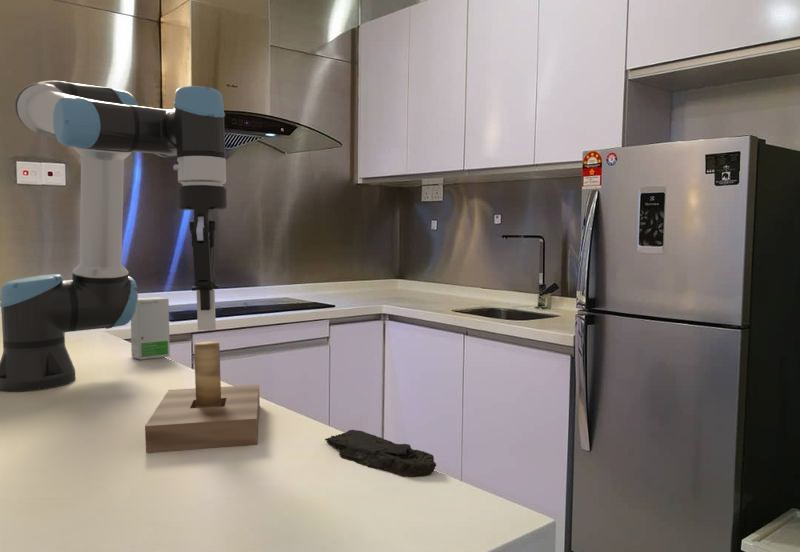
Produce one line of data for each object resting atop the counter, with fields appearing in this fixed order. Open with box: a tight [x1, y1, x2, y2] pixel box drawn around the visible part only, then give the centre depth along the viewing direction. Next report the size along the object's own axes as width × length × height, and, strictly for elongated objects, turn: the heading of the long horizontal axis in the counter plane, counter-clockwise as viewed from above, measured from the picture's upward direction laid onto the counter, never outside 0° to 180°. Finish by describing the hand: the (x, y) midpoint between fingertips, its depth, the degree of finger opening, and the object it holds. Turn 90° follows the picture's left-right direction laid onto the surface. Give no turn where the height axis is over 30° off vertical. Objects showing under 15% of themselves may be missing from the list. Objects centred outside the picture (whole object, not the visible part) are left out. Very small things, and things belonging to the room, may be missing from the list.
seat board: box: [144, 384, 261, 454], centre depth 105 cm, size 22×16×4 cm
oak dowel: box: [193, 341, 222, 408], centre depth 104 cm, size 4×4×14 cm
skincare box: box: [130, 296, 171, 360], centre depth 165 cm, size 8×7×16 cm
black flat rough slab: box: [324, 429, 437, 478], centre depth 90 cm, size 22×7×3 cm, turn 42°
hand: (206, 329), depth 104 cm, fingers closed
